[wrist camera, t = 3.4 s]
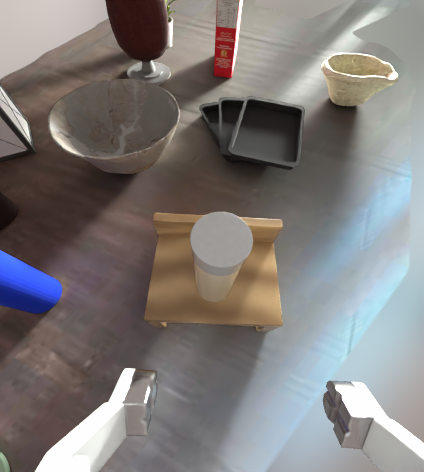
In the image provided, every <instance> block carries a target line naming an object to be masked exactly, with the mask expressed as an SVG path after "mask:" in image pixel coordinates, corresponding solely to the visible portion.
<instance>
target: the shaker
mask: <svg viewBox="0 0 424 472" xmlns="http://www.w3.org/2000/svg"><path fill="white" fill-rule="evenodd" d="M190 244H191V253H192V257H193V264H194V275H195V286H196V290H197V292H198V294H199V295H200V296H201V297H202V298H203V299H204V300H206V301H209V302H219V301H222V300H224V299H225V298H226V297H228V295H229V294H230V292H231V290H232V288H233V286H234V283H235V281H236V279H237V277H238V275H239V272H240V270H241V268H242V266H243V265H244V264H245V262H246V260H247V258H248V256H249V254H250V251H251V249H252V246H253V237H252V233H251V230H250V228H249V227H248V225H247V224H246V223H245V222H244V221H243V220H242V219H241V218H239V217H238V216H236V215H234V214H231V213H227V212H214V213H210V214H207V215H205V216H203V217H202V218H200V219H199V220H198V221H197V222H196V223H195V225H194V226H193V228H192V230H191V234H190Z"/></svg>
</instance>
